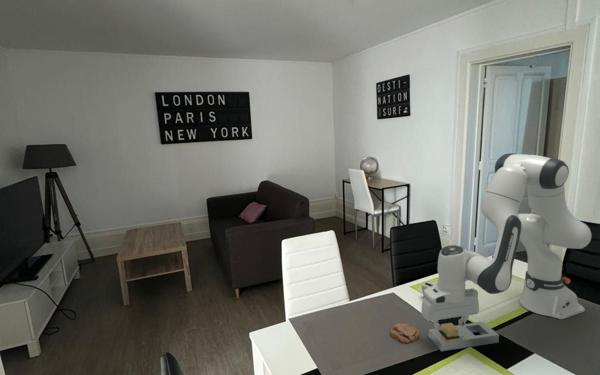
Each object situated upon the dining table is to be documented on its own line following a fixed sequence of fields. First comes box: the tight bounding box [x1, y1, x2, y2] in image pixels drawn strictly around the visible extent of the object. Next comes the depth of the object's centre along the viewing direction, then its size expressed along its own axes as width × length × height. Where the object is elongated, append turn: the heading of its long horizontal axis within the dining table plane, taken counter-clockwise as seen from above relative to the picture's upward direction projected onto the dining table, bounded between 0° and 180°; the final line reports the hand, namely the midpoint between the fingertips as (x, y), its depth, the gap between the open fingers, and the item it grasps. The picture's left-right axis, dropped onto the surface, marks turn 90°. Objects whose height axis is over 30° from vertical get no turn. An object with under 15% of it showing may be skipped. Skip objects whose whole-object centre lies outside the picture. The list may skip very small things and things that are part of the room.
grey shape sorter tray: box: [428, 321, 500, 352], centre depth 114 cm, size 22×8×3 cm, turn 98°
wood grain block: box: [440, 322, 458, 340], centre depth 113 cm, size 4×4×6 cm
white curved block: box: [421, 281, 436, 298], centre depth 137 cm, size 17×5×10 cm, turn 18°
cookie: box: [389, 322, 420, 344], centre depth 118 cm, size 10×11×3 cm
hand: (449, 326), depth 113 cm, fingers open, 8 cm apart
